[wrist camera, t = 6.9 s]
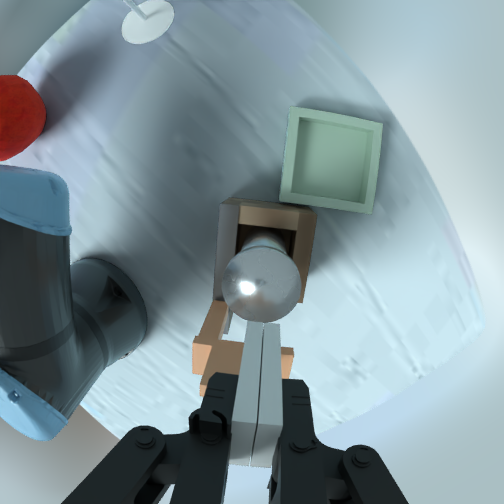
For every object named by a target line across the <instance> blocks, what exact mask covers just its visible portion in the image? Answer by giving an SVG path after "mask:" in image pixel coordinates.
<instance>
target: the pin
mask: <svg viewBox="0 0 504 504" xmlns="http://www.w3.org/2000/svg"><path fill="white" fill-rule="evenodd" d="M222 293H223V297H224V299H225V302H226V303H227V305H228V306H229V308H230V309H231V310H232V311H233V312H234V313H235V314H237V315H238V316H239V317H241V318H243V319H245V320H248V321H254V322H263V323H267V322H273V321H276V320H278V319H281V318H282V317H284V316H286V315H287V314H288V313H289V312H290V311H291V310H292V309H293V308H294V307H295V306H296V304H297V302H298V300H299V297H300V294H301V279H300V275H299V272H298V269H297V267H296V264H295V263H294V261H293V260H292V259H291V258H290V257H289V256H288V255H287V252H286V247H285V242H284V237H283V235H282V233H281V231H280V230H279V229H278V228H273V227H264V226H254V227H252V228H251V229H250V230H249V231H248V233H247V235H246V237H245V240H244V243H243V246H242V249H241V251H240V252H239V253H237V254H236V255H235V256H234V257H233V258H232V259H231V260H230V262H229V264H228V265H227V267H226V270H225V272H224V275H223V278H222Z"/></svg>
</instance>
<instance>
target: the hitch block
mask: <svg viewBox="0 0 504 504" xmlns="http://www.w3.org/2000/svg"><path fill="white" fill-rule="evenodd" d="M316 221H317V214H316V213H315V212H314V211H313V210H312V209H311V208H310V207H305V206H298V205H290V204H282V203H274V202H266V201H257V200H248V199H239V198H230V197H229V198H228V199H227V200H225V201H224V202H222V203H220V210H219V221H218V233H217V246H216V259H215V273H214V288H213V300H217V301H224V302H225V299H224V297H223V293H222V278H223V275H224V272H225V270H226V267H227V265H228V264H229V262H230V260H231V259H232V258H233V257H234V256H235V255H236V254H237V253H239V252H240V251H241V249H242V246H243V243H244V240H245V237H246V235H247V233H248V231H249V230H250V229H251V228H252V227H254V226H264V227H273V228H278V229H279V230H280V231H281V233H282V235H283V237H284V242H285V247H286V252H287V255H288V256H289V257H290V258H291V259H292V260H293V261H294V263H295V264H296V267H297V269H298V272H299V275H300V279H301V294H300V297H299V300H298V302H297V303H303V298H304V292H305V287H306V281H307V276H308V270H309V264H310V258H311V252H312V246H313V240H314V234H315V227H316ZM232 315H233V311H232V310H231V309H230V308H229V309H228V317H227V321H226V325H225V328H224V332H223V334H228V331H229V327H230V323H231V319H232Z"/></svg>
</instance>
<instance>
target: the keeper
mask: <svg viewBox="0 0 504 504" xmlns="http://www.w3.org/2000/svg"><path fill="white" fill-rule="evenodd" d="M228 309H229V306H228V305H227V303H226V302H224V301H217V300H213V302H212V304H211V307H210V309H209V312H208V314H207V316H206V319H205V321H204V324H203V326H202V328H201V331H200V333H199V336H195V338H194V340H193V347H192V373H193V374H199V375H203V376H202V379H201V382H200V396H203V397H204V394H205V390H206V387H207V384H208V380H209V378H210V377H211V376H212V375H213V374H214V373H215V372H221V373H228V374H236V375H239V373H240V366H241V360H242V354H243V348H244V343H243V342H235V341H228V340H221V339H222V335H223V332H224V328H225V325H226V321H227V317H228ZM293 358H294V351H293V348H290V347H281V371H282V378H283V379H289V375H290V371H291V366H292V362H293Z"/></svg>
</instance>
